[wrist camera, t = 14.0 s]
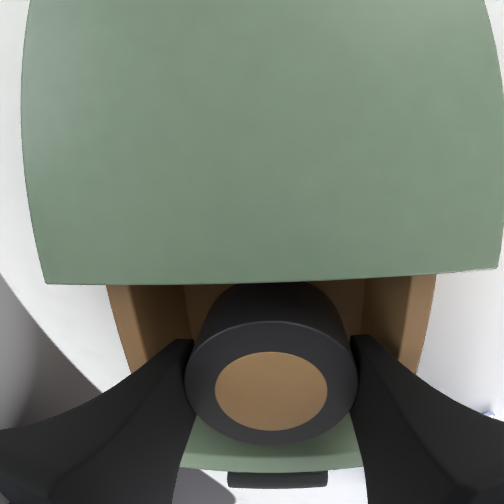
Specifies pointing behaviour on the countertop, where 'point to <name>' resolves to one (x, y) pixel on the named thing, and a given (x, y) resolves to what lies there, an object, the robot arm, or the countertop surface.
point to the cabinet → (261, 140)
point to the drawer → (355, 323)
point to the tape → (272, 364)
